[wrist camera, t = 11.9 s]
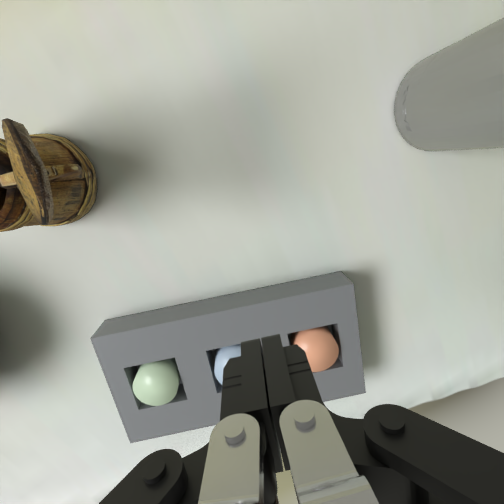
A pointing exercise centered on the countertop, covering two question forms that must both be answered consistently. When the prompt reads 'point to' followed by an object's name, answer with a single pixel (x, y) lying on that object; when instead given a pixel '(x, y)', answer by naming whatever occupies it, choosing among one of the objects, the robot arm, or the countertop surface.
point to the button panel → (222, 335)
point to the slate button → (225, 358)
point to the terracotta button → (317, 347)
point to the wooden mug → (42, 179)
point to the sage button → (157, 382)
